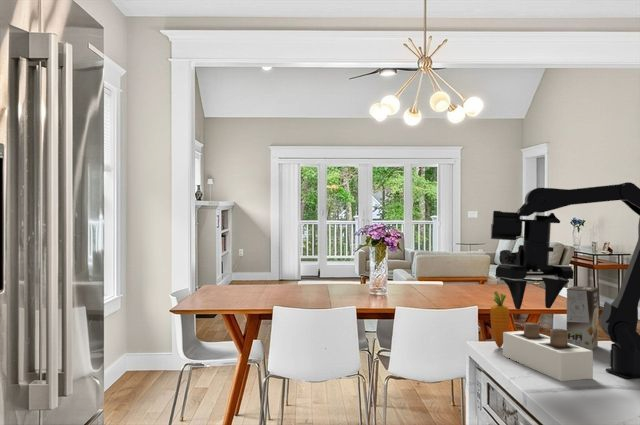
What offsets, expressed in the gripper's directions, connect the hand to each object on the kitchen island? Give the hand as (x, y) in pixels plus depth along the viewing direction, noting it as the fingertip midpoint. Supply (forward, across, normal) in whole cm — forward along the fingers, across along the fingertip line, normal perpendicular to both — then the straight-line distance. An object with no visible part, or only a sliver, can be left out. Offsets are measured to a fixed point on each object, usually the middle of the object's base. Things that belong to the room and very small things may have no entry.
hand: (532, 308), depth 129 cm
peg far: (+11, -5, -4) cm, 13 cm away
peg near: (+10, -3, +5) cm, 12 cm away
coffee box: (+13, -28, -10) cm, 33 cm away
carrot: (+14, -7, -18) cm, 24 cm away
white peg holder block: (+14, -4, 0) cm, 14 cm away
